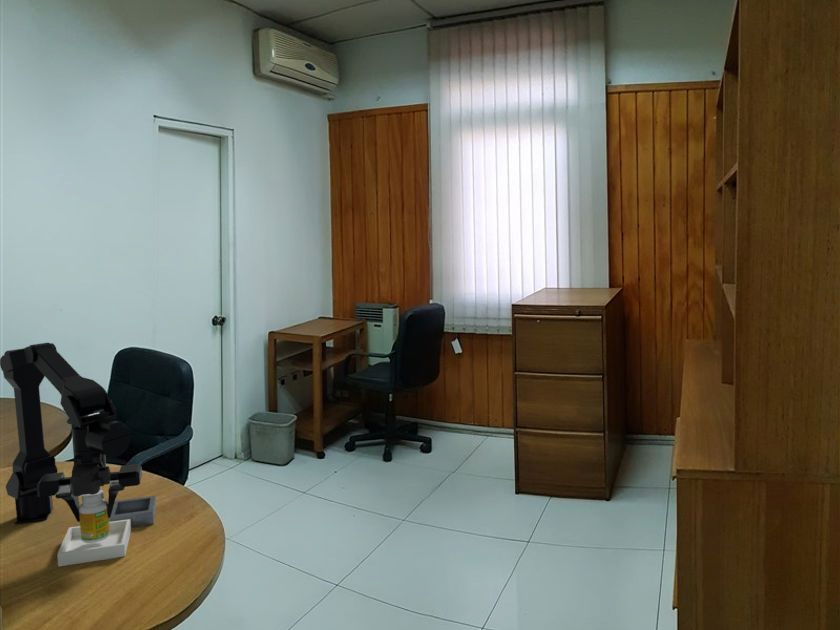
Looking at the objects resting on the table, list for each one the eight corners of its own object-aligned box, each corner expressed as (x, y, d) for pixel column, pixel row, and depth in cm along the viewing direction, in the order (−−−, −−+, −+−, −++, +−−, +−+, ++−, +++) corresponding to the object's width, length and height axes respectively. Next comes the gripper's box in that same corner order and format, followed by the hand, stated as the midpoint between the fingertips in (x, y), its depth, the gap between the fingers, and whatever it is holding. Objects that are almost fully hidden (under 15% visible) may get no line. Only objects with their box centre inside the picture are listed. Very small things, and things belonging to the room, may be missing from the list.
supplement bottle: (98, 544, 129) (94, 499, 128) (75, 542, 130) (71, 497, 129) (115, 532, 134) (112, 488, 133) (93, 530, 135) (90, 486, 134)
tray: (58, 566, 125) (57, 554, 124) (70, 538, 136) (69, 527, 136) (125, 556, 129) (124, 544, 128) (131, 530, 140) (130, 519, 140)
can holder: (109, 530, 140) (108, 517, 139) (114, 513, 148) (113, 501, 148) (153, 524, 143) (152, 511, 142) (156, 507, 151) (155, 495, 151)
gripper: (26, 466, 119) (33, 544, 121) (134, 454, 125) (139, 529, 127) (40, 447, 129) (46, 519, 131) (140, 437, 135) (144, 506, 137)
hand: (94, 519), depth 132 cm, fingers closed on supplement bottle, 5 cm apart
